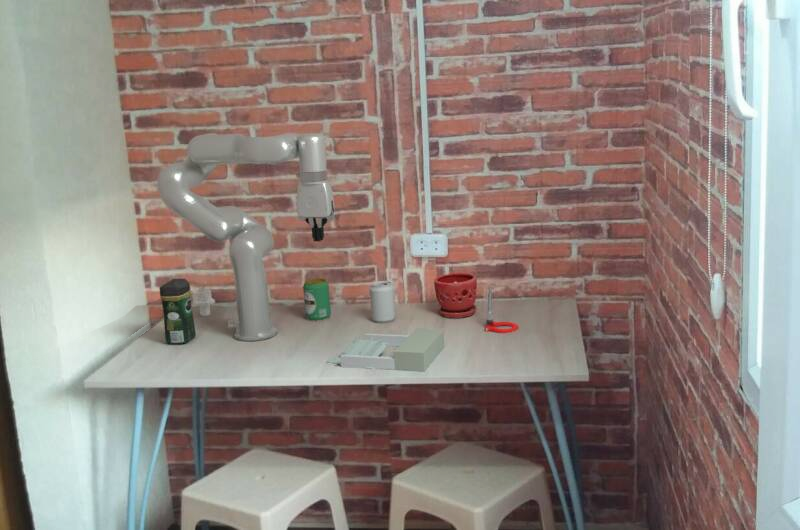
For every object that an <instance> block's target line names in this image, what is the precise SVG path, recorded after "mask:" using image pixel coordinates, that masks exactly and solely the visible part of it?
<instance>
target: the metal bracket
mask: <svg viewBox="0 0 800 530" xmlns="http://www.w3.org/2000/svg"><path fill="white" fill-rule="evenodd" d="M388 345H389V343H386V342H382V340H380V339H378V341H374V338H373V337H372V338H371V339H370V340H365V339H361V338H360V336H355V337H354V340H352V341H351V343H349V344H348V345H347V346H346V347H345V348H344V349H343V350H342V351H341V353H340V354H339V356H330V357H329V359H328V360H326V362H325V363H326V364H328V363H332V364H331V365H334V364H339V365H338V366H341V357H340V356H341V355H358V356H378V357H380V355H382V354H381V353H383V352H384V350H385V349H386V348H387V347H389V346H388ZM362 368H363V369H362ZM362 368H361V369H362V370H367V369H371V370H370V371H373V370H372V369H374V370H375V367H362ZM364 368H365V369H364Z"/></svg>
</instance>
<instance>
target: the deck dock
mask: <svg viewBox="0 0 800 530" xmlns="http://www.w3.org/2000/svg"><path fill="white" fill-rule="evenodd" d="M444 332H445V330H444V329H434V328H433V329H430V328H429V329H427V328H426V329H425V328H415V329H414V330H413V331H412V332H411V333H410V334H409V335H406V334H385V333H365V334H364V340H370V339H371V338H372V337H373V338H374V341H378V339H380V340H382V342H386V343H389V345H388V346H387V347H396V349H395V350H394V351H393V356H358V355H341V354H340V355H341V356H340V355H339V356H340V357H341V365H340V368H353V369H354V368H355V369H362V367H375V369H376V370H388V369H392V370H393V371H408V372H410V371H411V372H426V370H427V369H428V368H429V367H430V365H431V364H432V363H433V362H434V360H435V359H436V358H437V357H438V356H439V355H440V353H442V351H443V349H445V333H444ZM437 355H438V356H437ZM436 356H437V357H436ZM375 369H374V370H375Z"/></svg>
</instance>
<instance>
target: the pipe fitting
mask: <svg viewBox="0 0 800 530" xmlns="http://www.w3.org/2000/svg"><path fill="white" fill-rule="evenodd" d="M194 297H195V300H192V304H193V305H194V306H196V307H199V314H200V316H202V317H206V316H209V315H211V309H210V308H211V307H210V306H211V305H212V304H213V305H214V304H215V303H216V300H215V299H214V298H213V297H212V290H211V289H209V288H203V289H196V290H195V291H194Z"/></svg>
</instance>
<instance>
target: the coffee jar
mask: <svg viewBox="0 0 800 530" xmlns="http://www.w3.org/2000/svg"><path fill="white" fill-rule="evenodd" d="M191 295H192V294H191V287H190V282H189V281H188V280H187V279H186V278H172V279H171V280H169V281H168V282H166V283H164V284H162V285H161V286H159V297H160V300H161V305H162V313H163V314H162V315H163V326H164V338H165V342H166V343H167V344H169V345H174V346H175V345H181V344H188V343H189V342H191V341H192V340H193V339H194V338H195V337H196V335H197V334H196V333H197V332H196V327H195V326H196V325H195V321H194V313H193V307H192V300H191V298H192V297H191Z"/></svg>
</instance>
